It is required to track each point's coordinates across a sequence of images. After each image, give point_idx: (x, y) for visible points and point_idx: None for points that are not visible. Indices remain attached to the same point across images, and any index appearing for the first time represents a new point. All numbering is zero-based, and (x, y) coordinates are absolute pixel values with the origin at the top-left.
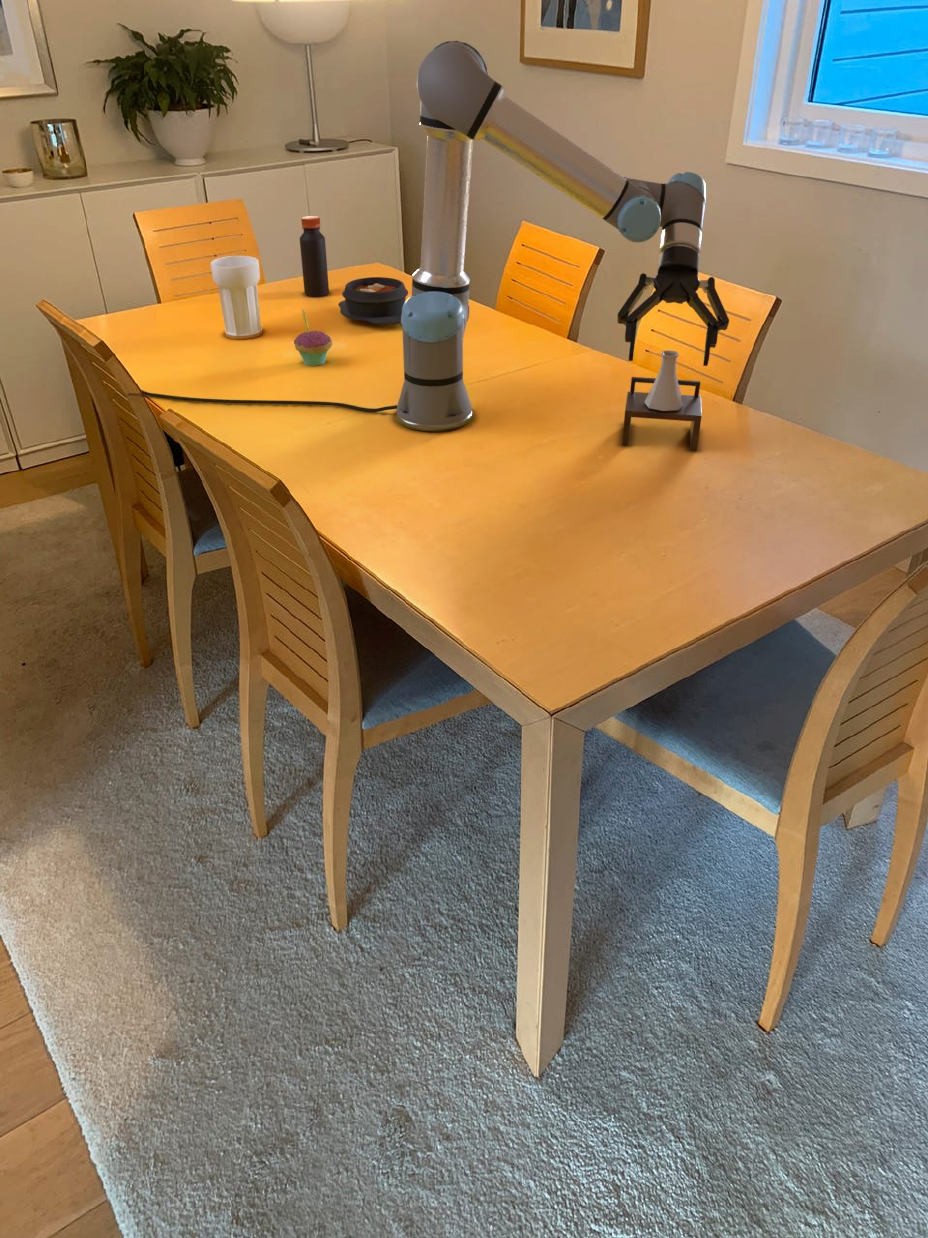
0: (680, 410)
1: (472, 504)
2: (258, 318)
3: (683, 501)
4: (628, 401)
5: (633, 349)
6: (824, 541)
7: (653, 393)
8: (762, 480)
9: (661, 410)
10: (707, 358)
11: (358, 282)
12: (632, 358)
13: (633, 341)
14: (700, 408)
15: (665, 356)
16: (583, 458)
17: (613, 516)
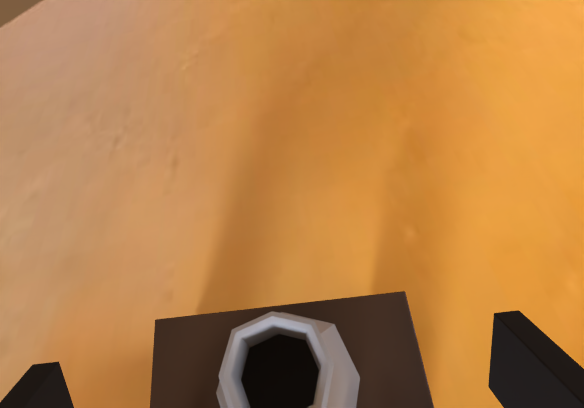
0: (225, 347)
1: (537, 23)
2: None
3: (217, 108)
4: (420, 384)
5: (515, 332)
6: (13, 58)
7: (328, 334)
8: (55, 222)
9: (288, 313)
10: (40, 368)
11: None
12: (492, 357)
13: (563, 372)
14: (154, 391)
15: (298, 319)
16: (443, 219)
17: (322, 44)
